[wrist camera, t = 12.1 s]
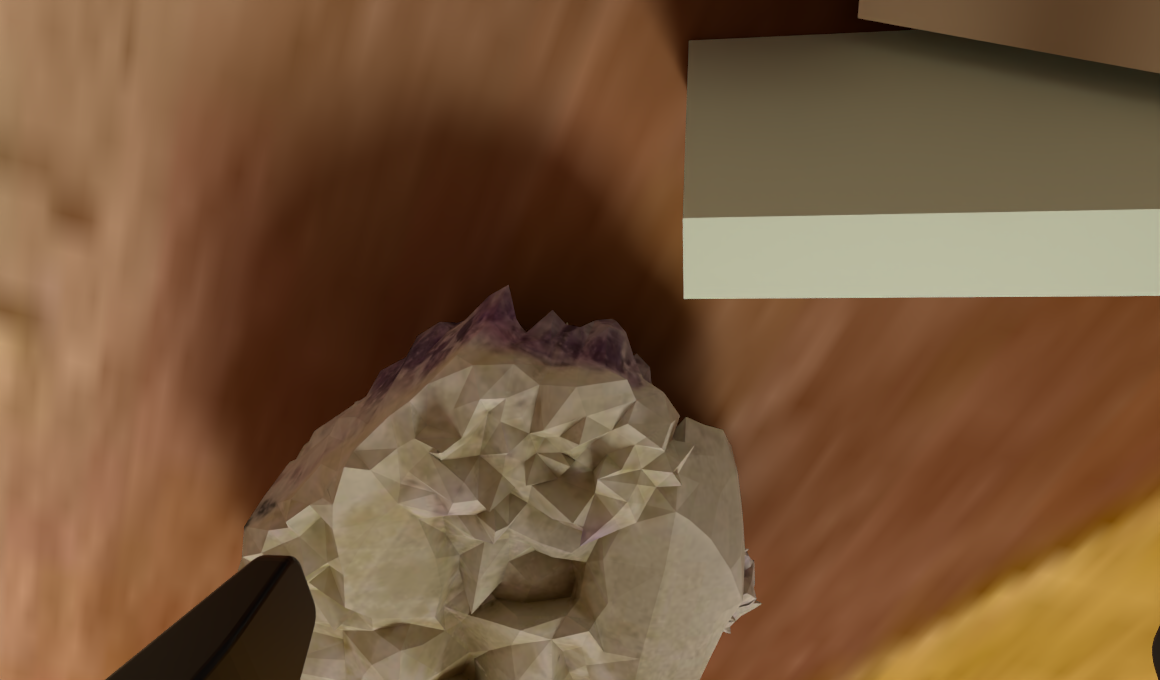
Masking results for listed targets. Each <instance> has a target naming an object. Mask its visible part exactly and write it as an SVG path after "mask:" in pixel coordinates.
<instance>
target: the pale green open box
mask: <svg viewBox="0 0 1160 680" xmlns="http://www.w3.org/2000/svg"><path fill="white" fill-rule="evenodd" d="M683 280H684V299H735V298H891V297H1048V296H1160V73H1154V72H1149V71H1143V70H1138V69H1132V68H1127V67H1122V66H1116V65H1111V64H1105V63H1100V62H1094V61H1089V60H1083V59H1078V58H1072V57H1067V56H1062V55H1056V54H1051V53H1045V52H1040V51H1034V50H1029V49H1023V48H1018V47H1012V46H1007V45H1001V44H996V43H991V42H985V41H980V40H974V39H969V38H963V37H958V36H952V35H947V34H941V33H936V32H930V31H925V30H901V31H880V32H858V33H837V34H816V35H795V36H773V37H752V38H731V39H710V40H689V49H688V79H687V109H686V140H685V170H684V200H683Z"/></svg>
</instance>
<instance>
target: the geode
mask: <svg viewBox="0 0 1160 680" xmlns="http://www.w3.org/2000/svg"><path fill="white" fill-rule="evenodd" d="M679 418H680V415H679V414H678V412H677V411H676V409H675V408H674V407H673V405H672V404H671V402H670V401H669V399H668V398H667V396H666V395H665V393H664V392H662V391H661V390H659V389H658V388H656V387H655V386H653V385H652V383H651V372H650V367H649V366H648V365H647V364H646V363H645V362H644V361H643V359H642V358H641V357H640V356H639V355H638V354H637V353H636V354H635V355H634V356H633V353H632V350H631V346H630V343H629V340H628V337H627V334H626V332H625V331H624V329H623V328H622V327H621V326H620V325H619V323H618V322H617V321H616V320H613V319H603V320H595V321H593V322H591V323H588V324H586V325H584V326H582V327H577V326H572V325H568V322H567V323H566V324H565V323H564V322H563V321H562V320H561V319H560V317H559V316H558V315H557V314H556V313H555V312H554V311H553V310H552V311H550V312H549V313H548V314H547V315H546V316H545V317H544V318H542V319H541V320H540V321H539V322H538V323H537V324H536V325H534V326H533V327H532V328H531V329H530V330H529V331H528V332H526V331H525V330H524V329H523V328H522V327H521V326H520V324H519V322H518V321H517V319H516V315H515V310H514V306H513V301H512V297H511V293H510V288H509V285H507V286H505V287H504V288H502V289H500V290H498V291H497V292H495V293H493V294H491V295H489V296H488V297H487V298H486V299H485V300H484V301H483V302H482V303H481V304H480V305H479V306H478V307H477V308H476V309H475V310H474V312H473V313H472V314H471V315H470V316H469V317H468V318H467V319H466V320H465V321H462V322H459V323H452V322H439V323H437V324H436V325H434V326H432V327H431V328H429V329H428V330H426V331H425V332H423V333H421V334H420V335H418V336H417V338H416V340H415V342H414V343H413V345H412V347H411V349H410V351H409V353H408V355H407V357H405V358H403V359H402V360H400V361H398V362H396V363H394V364H392V365H390V366H388V367H387V368H385V369H383V370H381V371H380V373H379V374H378V376H377V378H376V380H375V382H374V383H373V385H372V387H371V389H370V391H369V392H368V394H367V396H366V397H364V398H363V399H362V400H360V401H356V402H355V403H354V405H353V406H351V407H350V408H348V409H347V410H345V411H344V412H342V413H341V414H339V415H338V416H336V417H335V418H333V419H332V420H330V421H329V422H327V423H326V424H324V425H323V426H321V427H320V428H318V429H317V430H315V431H314V433H313V435H312V437H311V439H310V441H309V442H308V443H306V444H305V445H304V446H303V448H302V449H301V451H300V453H299V455H298V457H297V458H296V460H293V461H291V462H289V463H288V465H287V466H286V467H285V469H284V470H283V472H282V473H281V474H280V476H279V477H278V478H277V480H276V481H275V482H274V484H273V485H272V486H271V488H270V489H269V490H268V492H267V493H266V494H265V496H264V497H263V499H262V500H261V502H260V503H259V505H258V506H257V508H256V509H255V511H254V513H253V514H252V516H251V517H250V519H249V520H248V522H247V523H246V525H245V526H244V537H243V551H242V560H241V563H240V566H239V569H238V571H239V570H241V569H242V568H243V567H244V566H246V565H247V564H248V563H249V562H251V561H252V560H253V559H255V558H257V557H259V556H262V555H287V556H293V557H295V558H296V559H297V560H298V561H299V562H300V564H301V566H302V569H303V572H304V575H305V578H306V580H307V583H308V586H309V589H310V591H311V594H312V597H313V600H314V603H315V608H316V620H315V626H314V630H313V634H312V638H311V642H310V645H309V649H308V653H307V657H306V660H305V664H304V668H303V672H302V675H301V679H300V680H700V678H701V676H702V674H703V671H704V669H705V667H706V665H707V663H708V661H709V659H710V657H711V655H712V653H713V651H714V649H715V647H716V645H717V643H718V641H719V639H720V637H721V634H722V632H723V631H724V632H727V633H730V626H731V625H732V624H733V623H734V622H735V621H736V620H737V619H738V618H739V617H740V616H742V615H744V614H745V613H747V612H749V611H750V610H752V609H754V608H756V607H757V606H759V605H761V604H762V603H760V602H758V601H756V595H755V591H754V585H755V572H754V560H751V558H750V557H749V555H748V553H747V550H748V549H745V544H744V529H743V515H742V504H741V495H740V486H739V477H738V472H737V468H736V464H735V460H734V456H733V452H732V448H731V445H730V443H729V441H728V439H727V437H726V435H725V433H724V431H723V430H722V429H718V428H714V427H710V426H707V425H704V424H701V423H699V422H697V421H694V420H692V419H690V418H688V417H685V418H684V420H683V421H682V422H681V423H680V424H679V425H678V426H677V423H678V420H679Z"/></svg>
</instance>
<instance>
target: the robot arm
mask: <svg viewBox="0 0 1160 680" xmlns="http://www.w3.org/2000/svg"><path fill="white" fill-rule="evenodd" d="M315 620H316V608H315V603H314V600H313V597H312V594H311V591H310V589H309V586H308V583H307V580H306V578H305V575H304V572H303V569H302V566H301V564H300V562H299V561H298V560H297V559H296V558H295V557H293V556H287V555H262V556H259V557H257V558H255V559H253V560H252V561H251V562H249V563H248V564H247V565H246V566H244V567H243V568H242V569H241V570H239V571H238V572H237V573H236V574H235V575H233V576H232V577H231V578H230V579H228V580H227V581H226V582H225V583H223V584H222V585H221V586H220V587H219V588H217V589H216V590H215V591H214V592H212V593H211V594H210V595H209V596H208V597H206V598H205V599H204V600H203V601H201V602H200V603H199V604H198V605H196V606H195V607H194V608H193V609H192V610H190V611H189V612H188V613H187V614H185V615H184V616H183V617H182V618H180V619H179V620H178V621H177V622H176V623H174V624H173V625H172V626H171V627H169V628H168V629H167V630H166V631H164V632H163V633H162V634H161V635H160V636H158V637H157V638H156V639H155V640H153V641H152V642H151V643H150V644H148V645H147V646H146V647H145V648H144V649H142V650H141V651H140V652H139V653H137V654H136V655H135V656H134V657H132V658H131V659H130V660H129V661H128V662H126V663H125V664H124V665H123V666H121V667H120V668H119V669H118V670H116V671H115V672H114V673H113V674H112V675H110V676H109V677H108V678H107V679H105V680H300V679H301V675H302V672H303V668H304V664H305V660H306V657H307V653H308V649H309V645H310V642H311V638H312V634H313V630H314V626H315ZM1152 656H1153V663H1154V667H1155V670H1156V673H1157V677H1158V680H1160V626H1159V628H1158V631H1157V633H1156V635H1155V637H1154V641H1153V646H1152Z"/></svg>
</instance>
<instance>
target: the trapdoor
mask: <svg viewBox="0 0 1160 680" xmlns="http://www.w3.org/2000/svg"><path fill="white" fill-rule="evenodd" d="M858 18H860V19H865V20H870V21H876V22H881V23H887V24H892V25H898V26H903V27H909V28H914V29H920V30H925V31H930V32H936V33H941V34H947V35H952V36H958V37H963V38H969V39H974V40H980V41H985V42H991V43H996V44H1001V45H1007V46H1012V47H1018V48H1023V49H1029V50H1034V51H1040V52H1045V53H1051V54H1056V55H1062V56H1067V57H1072V58H1078V59H1083V60H1089V61H1094V62H1100V63H1105V64H1111V65H1116V66H1122V67H1127V68H1132V69H1138V70H1143V71H1149V72H1154V73H1160V0H859V9H858Z"/></svg>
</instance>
